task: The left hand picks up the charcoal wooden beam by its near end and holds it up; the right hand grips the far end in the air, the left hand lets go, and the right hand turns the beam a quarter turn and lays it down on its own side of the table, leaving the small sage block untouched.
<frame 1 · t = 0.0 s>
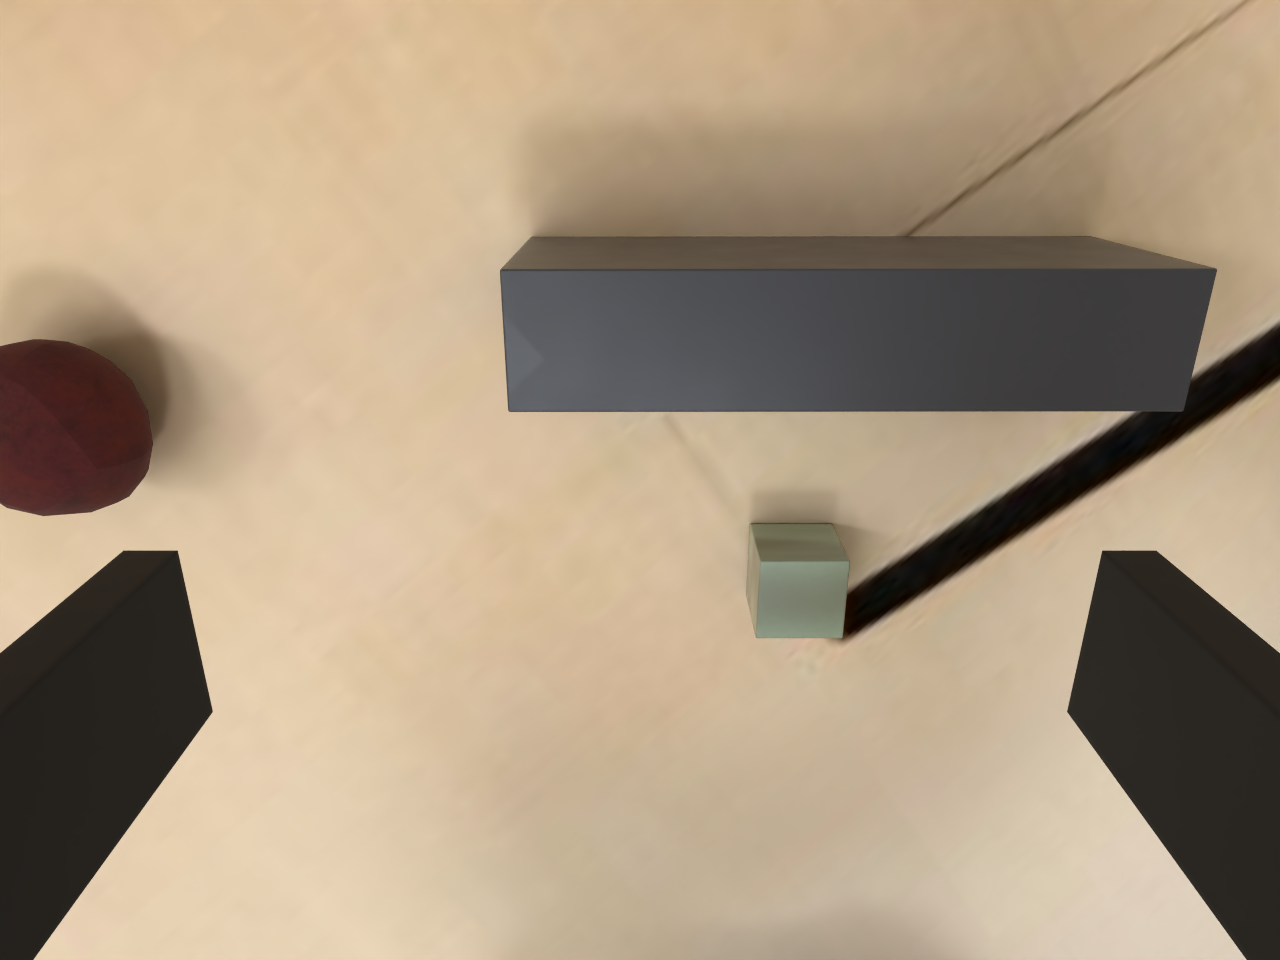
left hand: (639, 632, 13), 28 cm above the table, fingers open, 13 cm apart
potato: (103, 405, 41), on the table
sage block: (788, 560, 44), on the table
beam: (806, 295, 39), on the table
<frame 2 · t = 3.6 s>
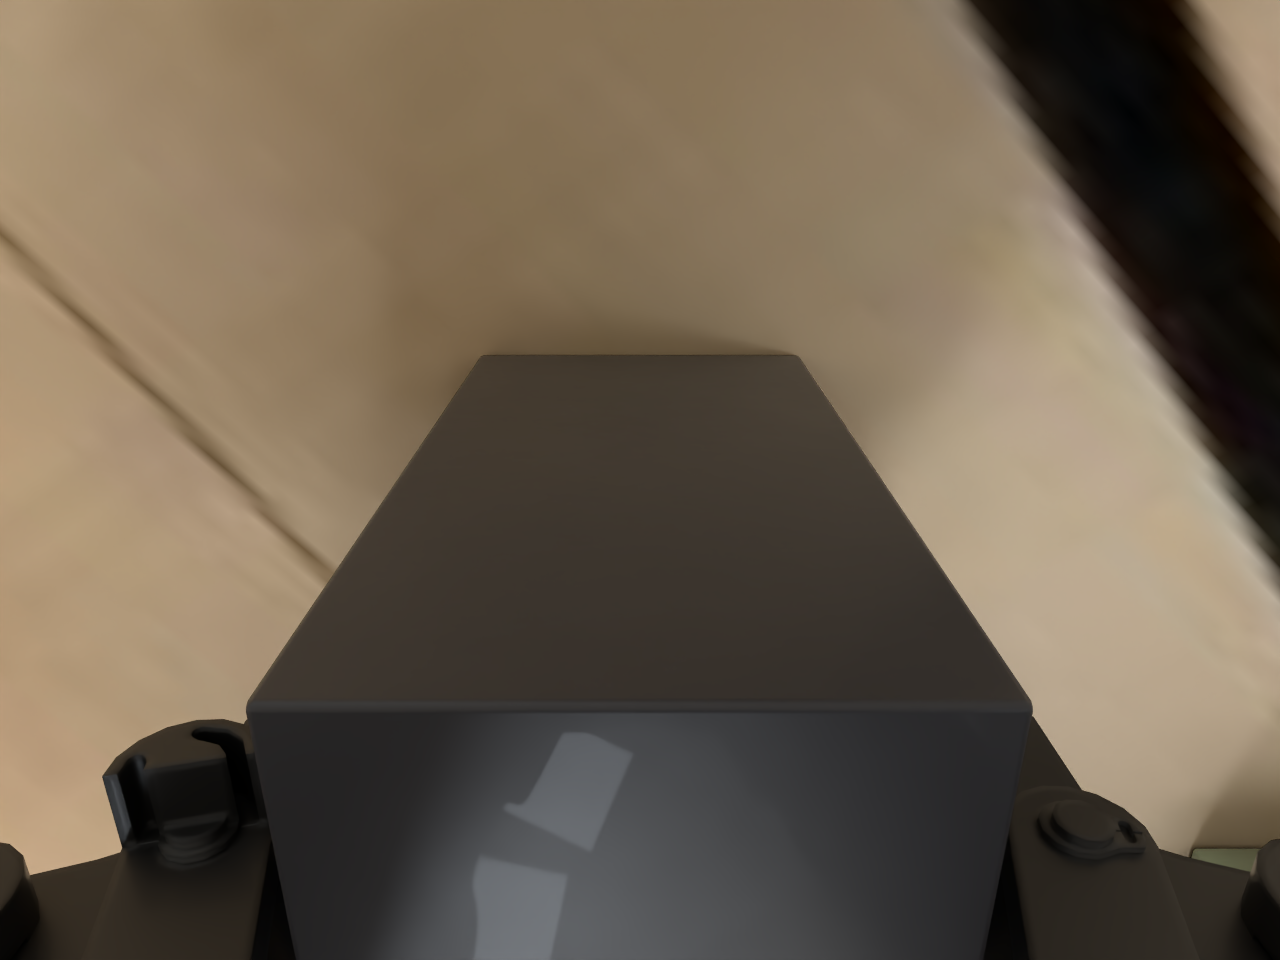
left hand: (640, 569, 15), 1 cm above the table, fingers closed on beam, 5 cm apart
sage block: (1266, 921, 18), on the table
beam: (639, 921, 18), on the table, touching left hand
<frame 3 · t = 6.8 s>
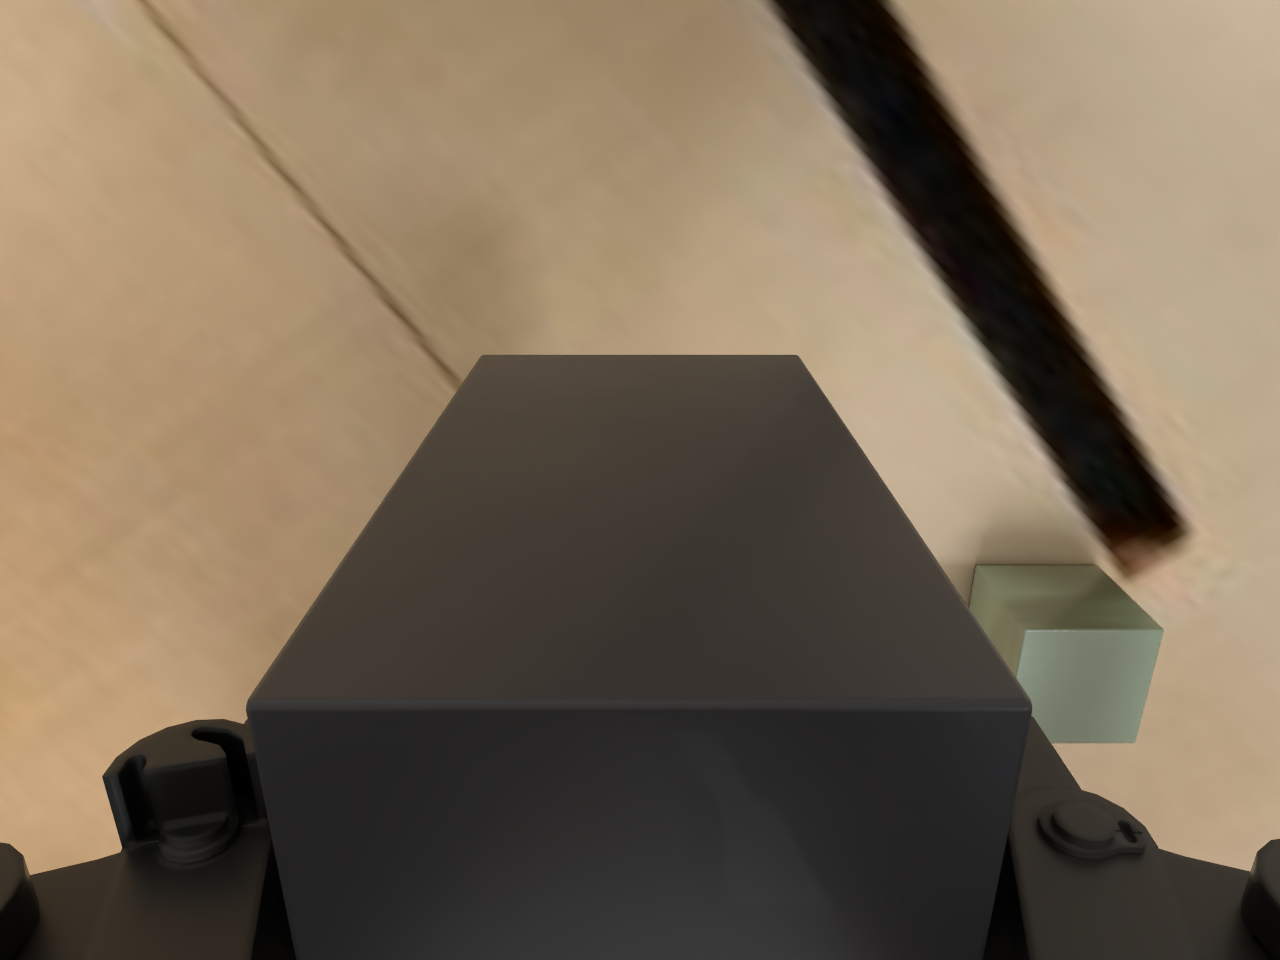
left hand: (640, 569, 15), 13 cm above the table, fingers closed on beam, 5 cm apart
sage block: (1026, 617, 30), on the table
beam: (639, 921, 18), point 12 cm above the table, touching left hand
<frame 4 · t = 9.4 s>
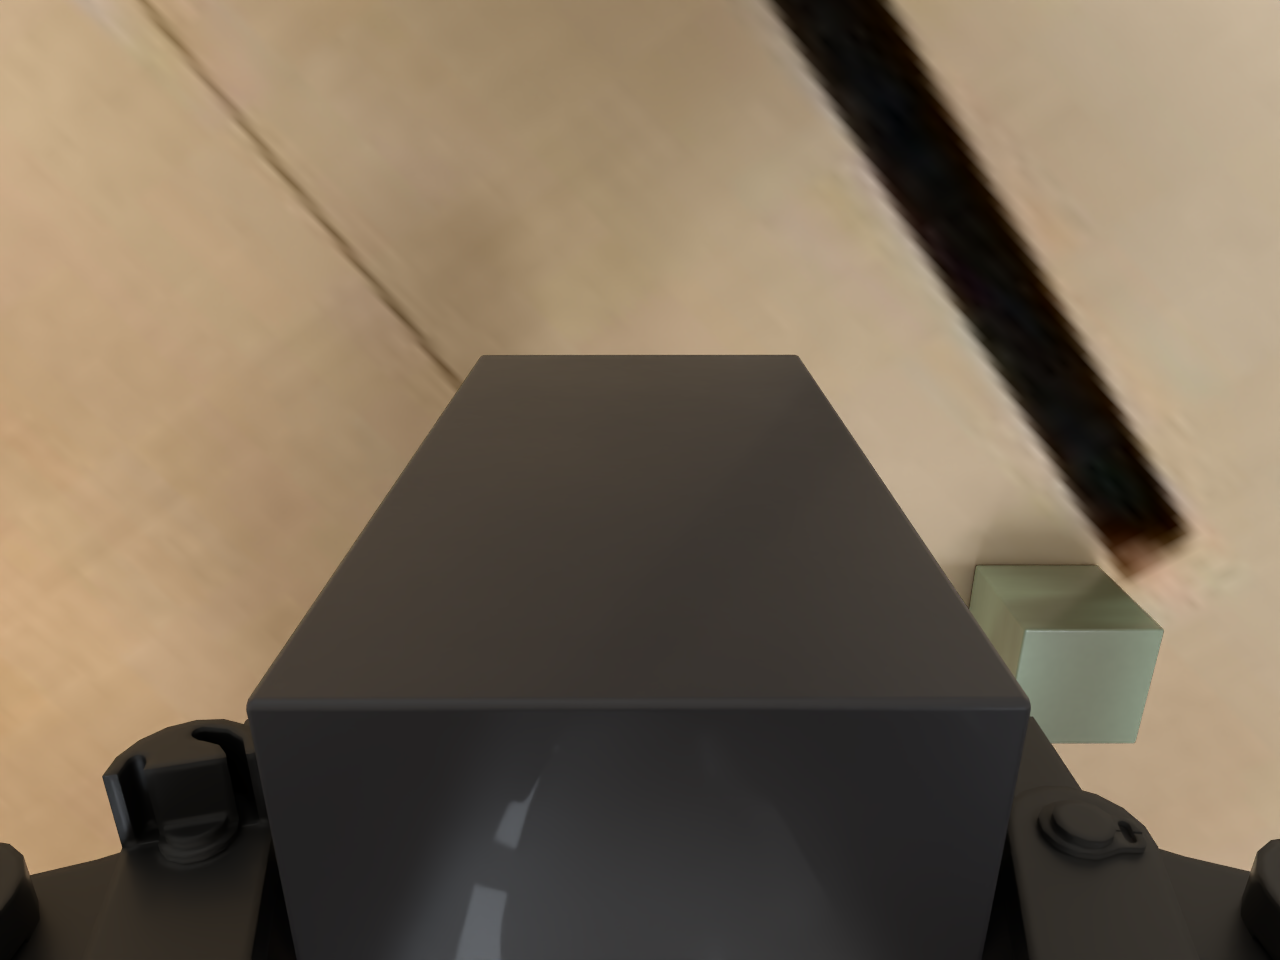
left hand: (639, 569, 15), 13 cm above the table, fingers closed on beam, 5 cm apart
sage block: (1026, 617, 30), on the table
beam: (640, 920, 18), point 12 cm above the table, touching left hand, right hand
when the left hand's fingers open (13 cm above the table, at t = 10.3 s): beam stays where it is, held by the right hand.
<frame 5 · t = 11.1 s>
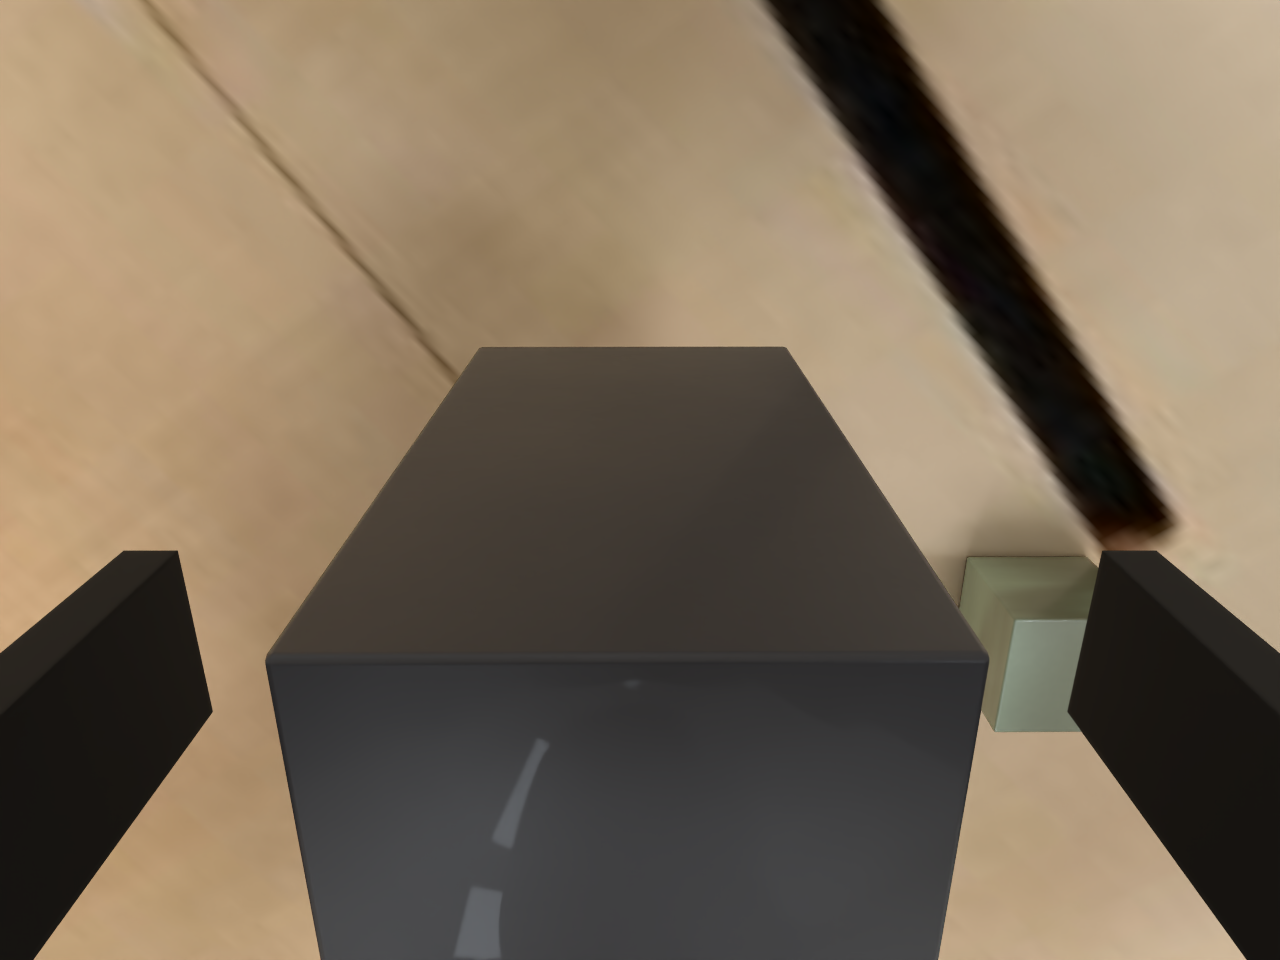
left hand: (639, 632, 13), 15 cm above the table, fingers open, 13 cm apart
sage block: (1017, 608, 30), on the table
beam: (635, 900, 19), point 12 cm above the table, touching right hand
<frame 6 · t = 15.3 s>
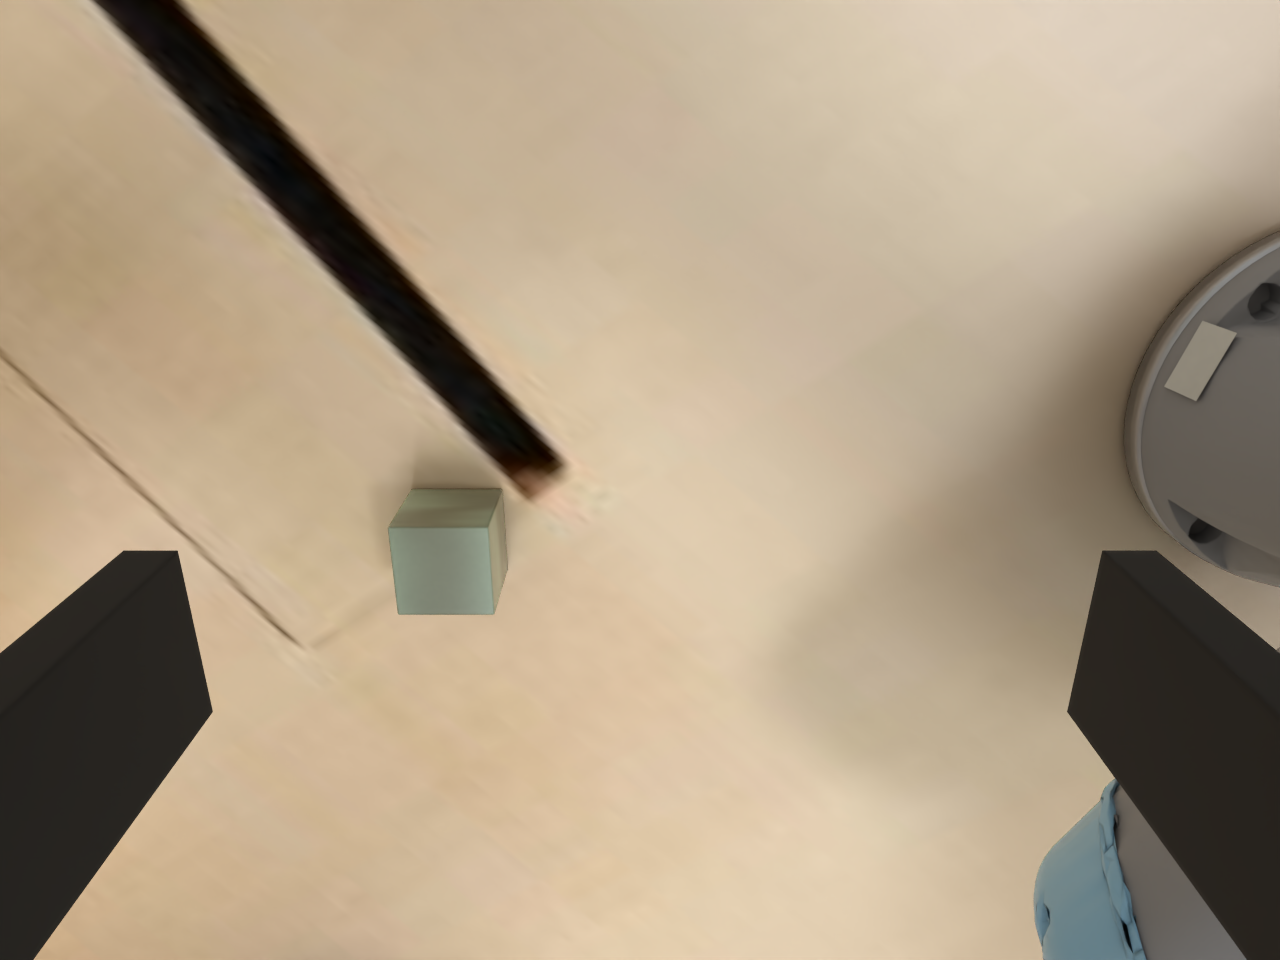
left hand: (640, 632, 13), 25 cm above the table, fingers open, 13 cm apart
sage block: (460, 529, 40), on the table
when the right hand's fingers open (5 cm above the table, at t = 21.2 s): beam stays where it is, on the table.
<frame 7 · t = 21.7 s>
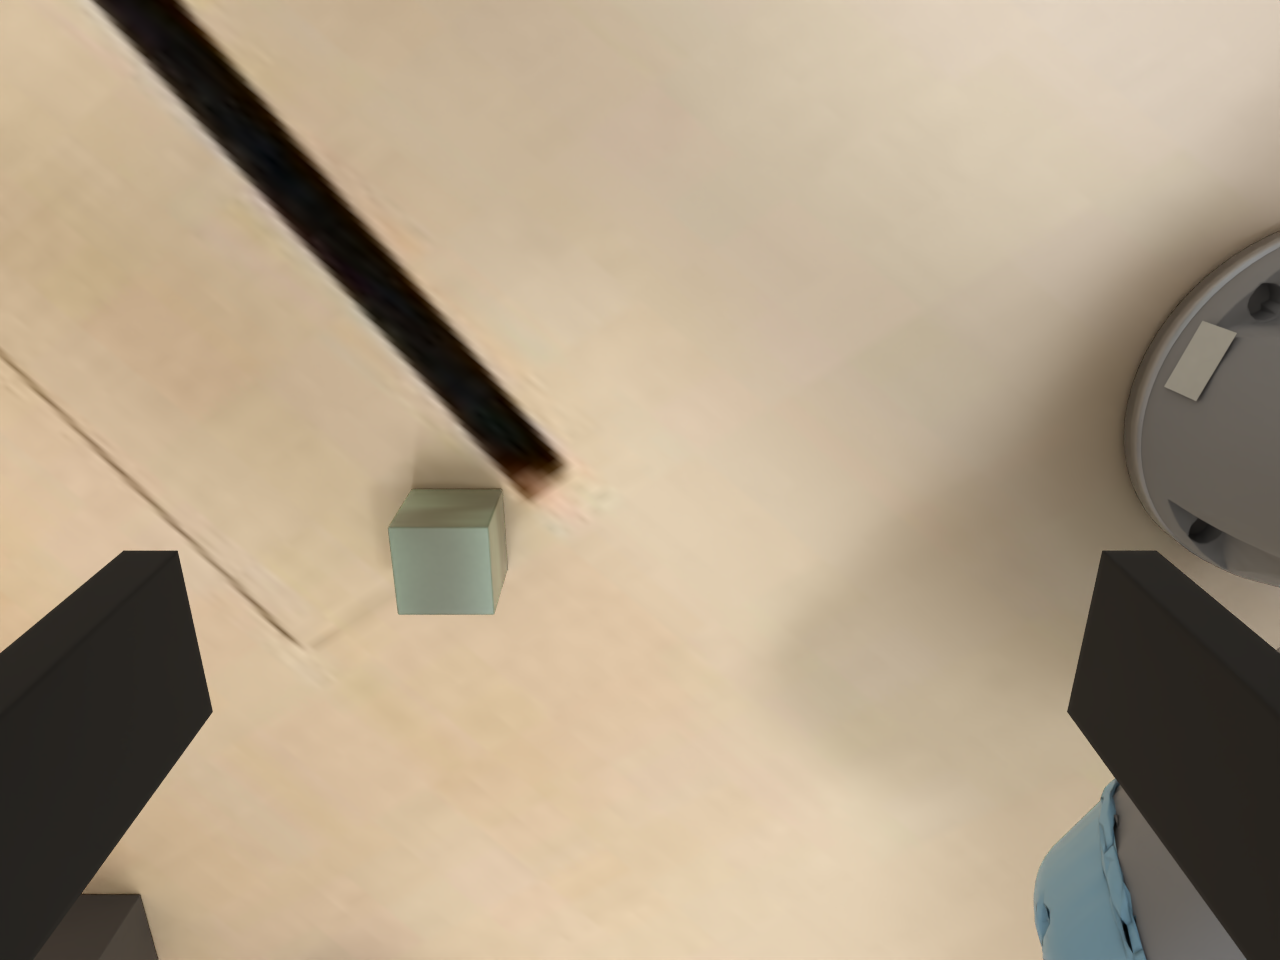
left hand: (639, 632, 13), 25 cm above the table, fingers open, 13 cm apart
sage block: (460, 529, 40), on the table
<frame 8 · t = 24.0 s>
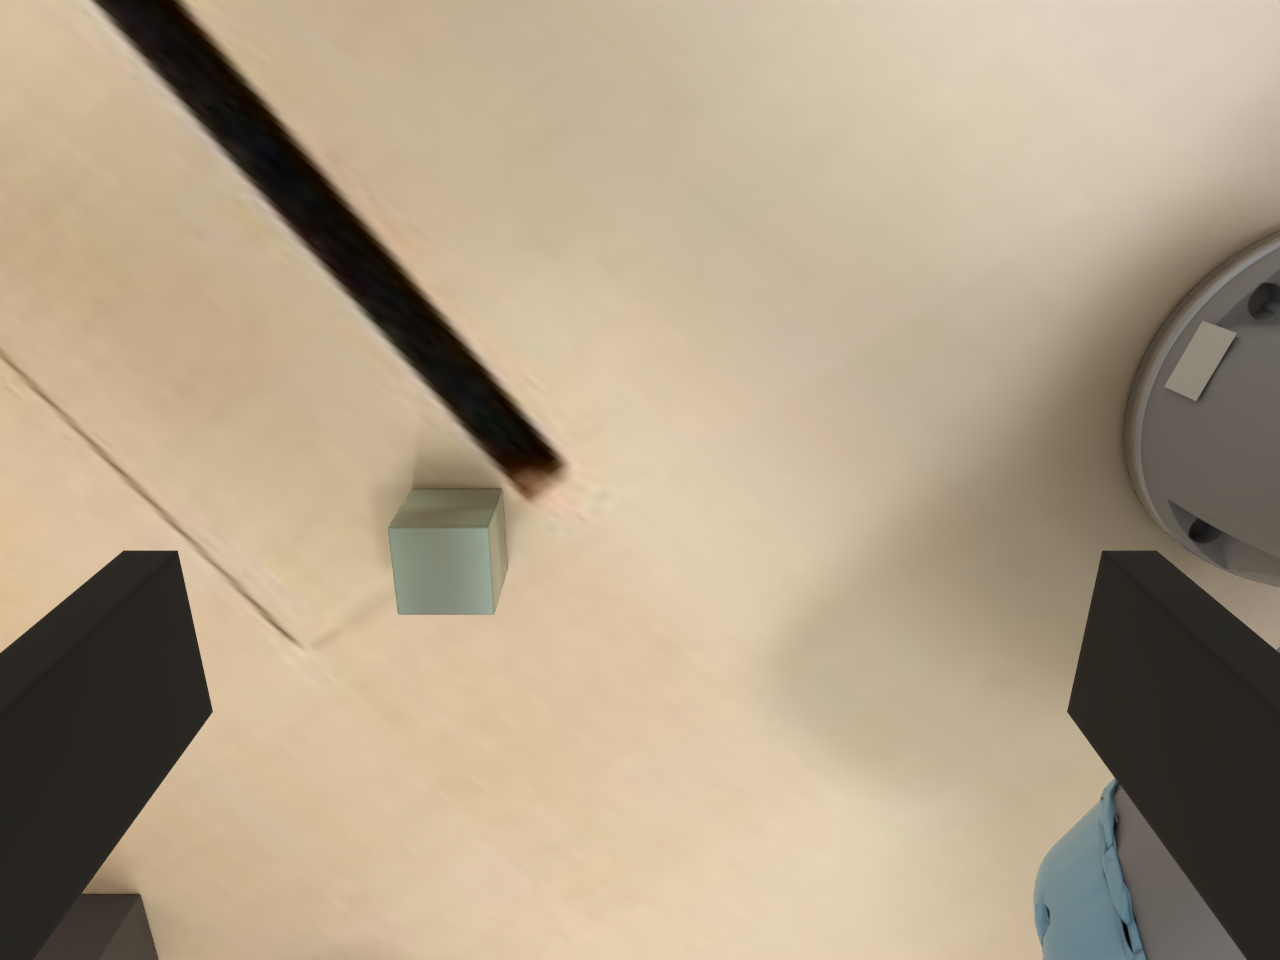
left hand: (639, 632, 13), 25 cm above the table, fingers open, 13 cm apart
sage block: (460, 529, 40), on the table
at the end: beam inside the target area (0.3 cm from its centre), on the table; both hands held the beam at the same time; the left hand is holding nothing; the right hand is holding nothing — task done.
